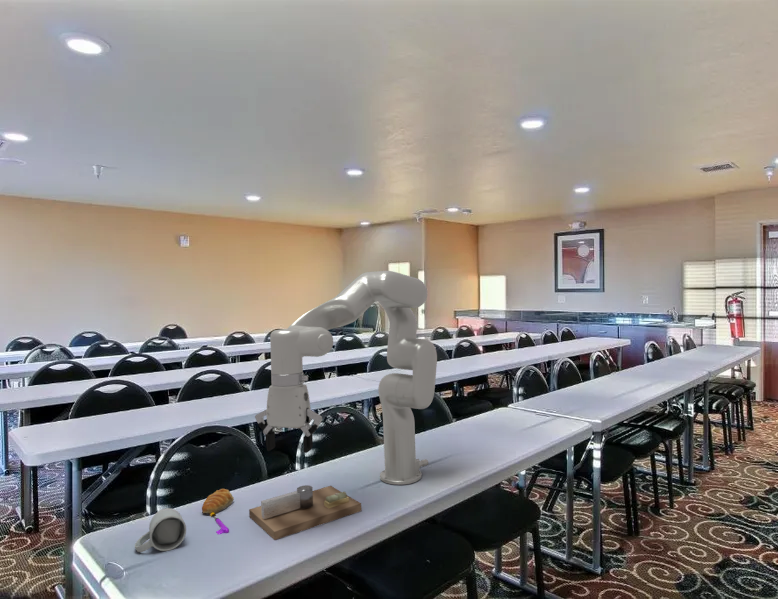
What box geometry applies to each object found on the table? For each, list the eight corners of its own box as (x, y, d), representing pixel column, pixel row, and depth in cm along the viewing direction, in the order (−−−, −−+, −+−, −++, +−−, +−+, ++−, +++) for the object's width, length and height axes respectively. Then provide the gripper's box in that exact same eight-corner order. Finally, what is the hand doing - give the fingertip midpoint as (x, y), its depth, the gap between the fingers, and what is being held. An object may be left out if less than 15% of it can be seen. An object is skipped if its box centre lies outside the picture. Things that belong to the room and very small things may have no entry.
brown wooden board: (330, 492, 147) (330, 475, 147) (361, 510, 134) (360, 492, 134) (249, 517, 133) (248, 498, 133) (274, 540, 120) (273, 519, 120)
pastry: (218, 516, 134) (218, 501, 134) (194, 515, 135) (194, 501, 135) (235, 501, 143) (234, 487, 143) (213, 501, 144) (212, 487, 144)
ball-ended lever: (308, 500, 136) (308, 484, 136) (315, 505, 133) (315, 488, 133) (259, 515, 128) (259, 497, 128) (266, 520, 125) (265, 502, 125)
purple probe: (230, 532, 125) (211, 511, 138) (229, 528, 125) (210, 507, 138) (219, 538, 123) (201, 516, 137) (218, 534, 123) (200, 512, 136)
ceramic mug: (182, 532, 126) (180, 501, 126) (187, 545, 119) (185, 512, 119) (133, 545, 121) (131, 512, 120) (136, 560, 114) (134, 525, 113)
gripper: (326, 378, 127) (328, 447, 127) (262, 377, 131) (264, 444, 131) (314, 383, 120) (316, 456, 120) (247, 382, 124) (249, 453, 124)
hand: (289, 450), depth 125 cm, fingers open, 9 cm apart
